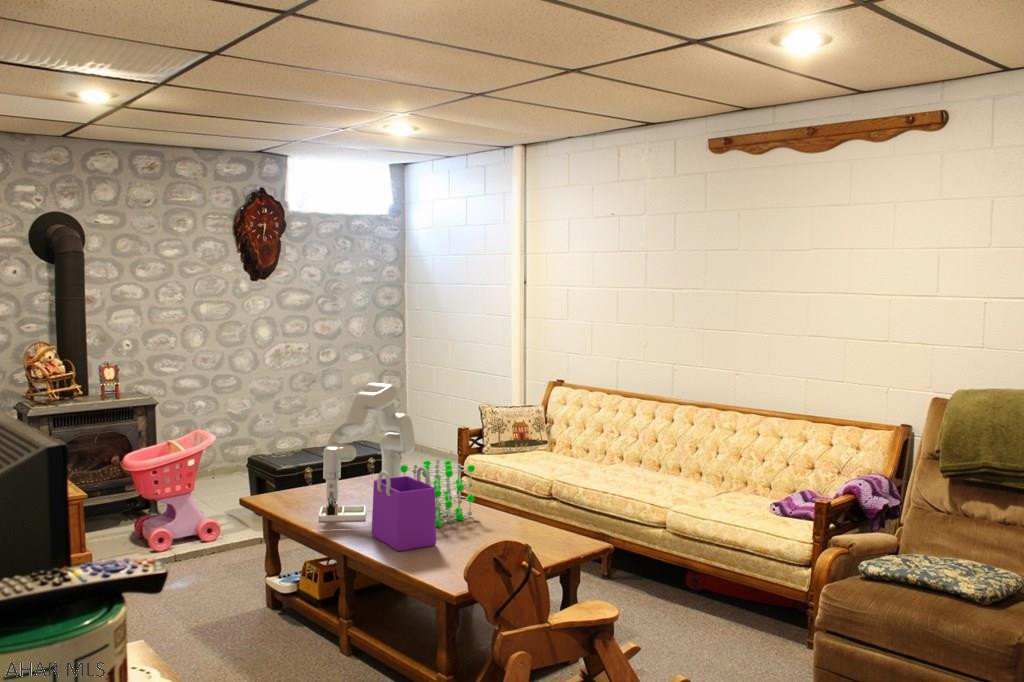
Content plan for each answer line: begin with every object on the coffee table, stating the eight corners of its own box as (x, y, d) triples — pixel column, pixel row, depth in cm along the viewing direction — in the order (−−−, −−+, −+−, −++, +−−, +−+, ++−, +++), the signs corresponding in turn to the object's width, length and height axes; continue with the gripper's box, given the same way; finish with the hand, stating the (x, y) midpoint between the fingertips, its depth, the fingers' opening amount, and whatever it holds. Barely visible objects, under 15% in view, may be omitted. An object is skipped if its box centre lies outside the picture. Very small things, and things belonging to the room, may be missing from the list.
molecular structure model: (475, 517, 391) (476, 464, 390) (437, 528, 372) (437, 473, 370) (437, 507, 407) (438, 456, 405) (398, 518, 387) (398, 464, 386)
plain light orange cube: (337, 514, 389) (337, 503, 389) (337, 517, 384) (337, 506, 384) (326, 514, 388) (326, 503, 388) (325, 517, 383) (325, 506, 383)
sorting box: (365, 511, 396) (365, 505, 396) (365, 521, 381) (365, 514, 380) (321, 512, 393) (321, 506, 393) (318, 522, 378) (318, 515, 377)
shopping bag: (361, 538, 356) (361, 466, 354) (403, 528, 371) (403, 459, 369) (403, 554, 336) (404, 478, 334) (446, 543, 351) (447, 470, 349)
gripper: (339, 478, 377) (339, 517, 378) (341, 470, 394) (341, 507, 395) (322, 479, 376) (321, 517, 377) (324, 470, 393) (324, 507, 394)
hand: (331, 512), depth 386 cm, fingers open, 9 cm apart
